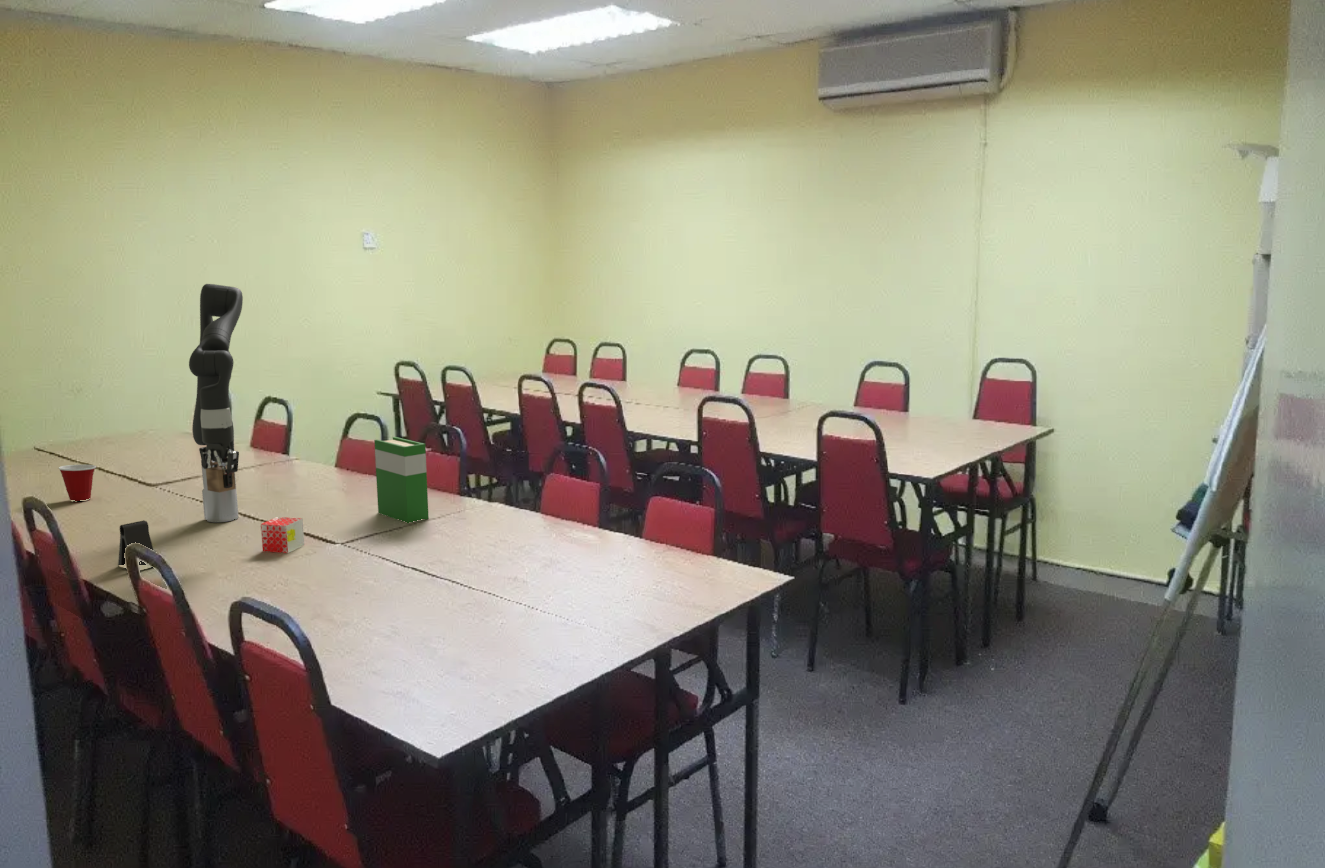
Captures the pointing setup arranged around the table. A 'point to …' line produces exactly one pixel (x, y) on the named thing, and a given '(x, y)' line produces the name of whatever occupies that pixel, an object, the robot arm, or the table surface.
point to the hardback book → (401, 479)
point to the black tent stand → (133, 537)
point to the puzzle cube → (282, 534)
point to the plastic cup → (78, 480)
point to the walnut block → (217, 480)
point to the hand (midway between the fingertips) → (221, 486)
